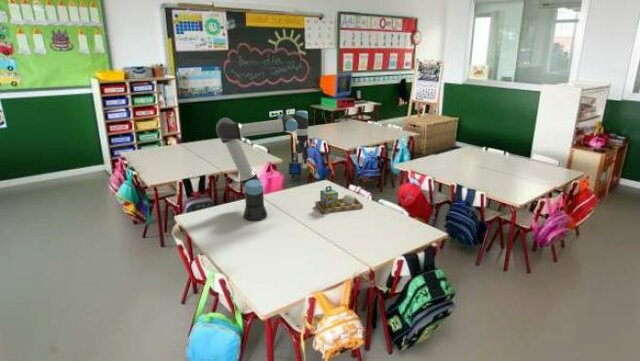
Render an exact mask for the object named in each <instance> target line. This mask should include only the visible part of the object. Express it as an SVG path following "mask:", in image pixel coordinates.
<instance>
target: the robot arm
mask: <svg viewBox="0 0 640 361" xmlns="http://www.w3.org/2000/svg"><path fill="white" fill-rule="evenodd" d="M215 129H216V130H215V131H216V135H217V137H218V138H219V139H220V142H221V143H222V144H225V145H226V148H227V150H228V152H229V154H230V156H231V159H232V160H233V163H234V165H235V167H236V170H237V172H238V174H239V175H240V177H239V181H240V183H241V186H242V188H243V192H244V197H245V198H244V199H245V207H244V211H243V219H244V220H246V221H250V222H259V221H263V220H265V219H267V217H268V212H267V208H266V207H265V201H264V200H265V199H264V198H265V197H264V184H263V182H262V181H261V180H260V178H259V177H258V174H257V172H256V171H253V168H252V167H251V164H250V162H249V160H248V157H247V155H246V153H245V150H244V148H243V147H242V144H241V142H240V140H241V139H242V138H245V137H250V136H259V135H265V134H266V135H267V134H273V133H281V132H282V133H283V132H291V133H293V132H295V131H296V141H297V142H298V143H297V149H296V151H297V161H298V163H299V164H300V163H302V169H308V159H309V156H308V155H309V154H308V145H307V141H308V140H309V135H308V134H309V131H310V129H309V114H308V111H307V110H297V111H296V113H294V114H279V115H278V117H277V119H273V120H265V121H257V122H249V123H240V122H234V121H233V120H232V119H230V118H228V117H223V118H220V119H219V120H218V121H217V122H216V125H215Z"/></svg>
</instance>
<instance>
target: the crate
mask: <svg viewBox="0 0 640 361" xmlns="http://www.w3.org/2000/svg"><path fill="white" fill-rule="evenodd" d="M353 197H354V203H353V204H352V205H350V206H347V205H345V204H344V203H343V197H342V198H338V207H334V208H326V209H324V208H322V207H321V206H320V200H317V201H316V200H315V207H316V209H317V210H318V211H319V212H320V214H321V215H326V213H333V212H342V211H351V210H358V209H359V210H360V209H363V208H364V204H363V203H362V202H361V201H360V200H359V199H357V198H356V197H355V196H353Z"/></svg>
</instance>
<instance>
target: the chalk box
mask: <svg viewBox="0 0 640 361" xmlns="http://www.w3.org/2000/svg"><path fill="white" fill-rule="evenodd" d="M319 191H320V195H319V198H320V199H319V201H320V206H321V207H322V208H324V209H326V208H334V207H338V199H339V192H338V191H336V190H334V189H332V186H331V185H328V186H326V187H325V189H322V190H319Z"/></svg>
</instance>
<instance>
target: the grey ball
mask: <svg viewBox="0 0 640 361" xmlns="http://www.w3.org/2000/svg"><path fill="white" fill-rule="evenodd" d="M354 197H355V196H354V195H352V193H351V194H350V193H347V194H344V196H343V197H342V198H343V203H344V204H345V205H347V206H350V205H352V204H353V203H354Z"/></svg>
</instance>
